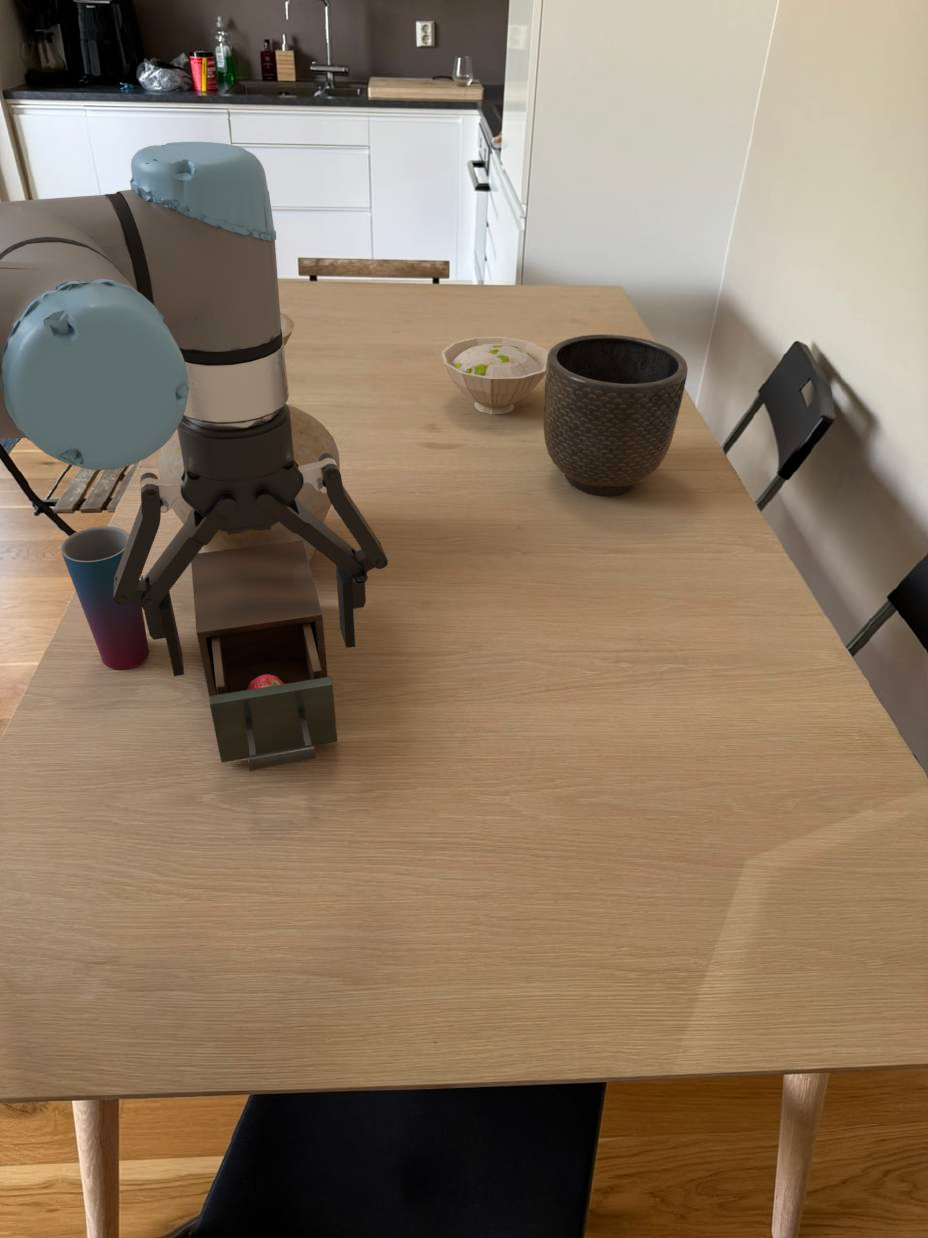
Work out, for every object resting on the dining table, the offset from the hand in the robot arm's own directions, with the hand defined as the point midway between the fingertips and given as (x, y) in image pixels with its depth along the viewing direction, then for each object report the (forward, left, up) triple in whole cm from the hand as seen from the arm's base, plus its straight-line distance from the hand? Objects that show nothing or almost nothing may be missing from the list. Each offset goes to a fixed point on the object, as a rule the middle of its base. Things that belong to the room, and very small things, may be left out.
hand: (265, 651), depth 72 cm
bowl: (+46, +81, -19) cm, 96 cm away
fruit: (0, +12, -17) cm, 21 cm away
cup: (-15, +26, -19) cm, 36 cm away
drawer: (0, +10, -18) cm, 21 cm away
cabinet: (0, +23, -19) cm, 30 cm away
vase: (+2, +44, -19) cm, 48 cm away
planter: (+54, +52, -19) cm, 78 cm away
